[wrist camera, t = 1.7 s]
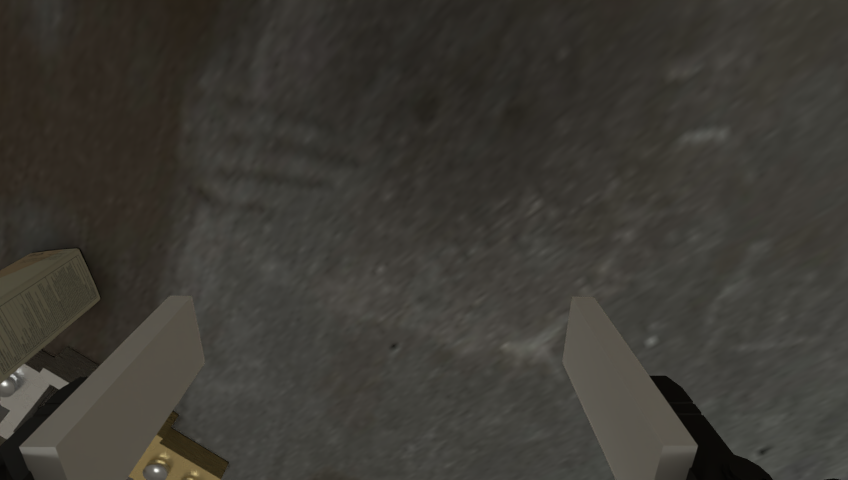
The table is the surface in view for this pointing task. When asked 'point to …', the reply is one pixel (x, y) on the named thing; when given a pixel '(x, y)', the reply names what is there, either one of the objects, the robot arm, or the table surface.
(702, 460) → the robot arm
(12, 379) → the link
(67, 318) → the box
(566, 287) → the table surface
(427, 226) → the table surface
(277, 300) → the table surface
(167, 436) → the link
